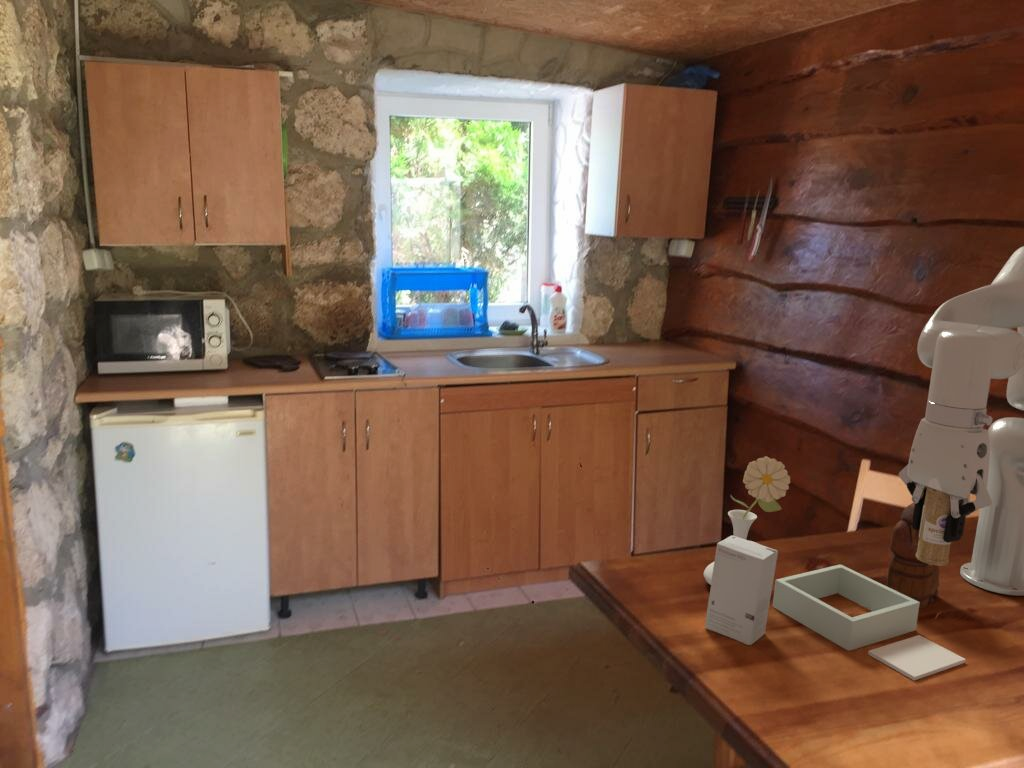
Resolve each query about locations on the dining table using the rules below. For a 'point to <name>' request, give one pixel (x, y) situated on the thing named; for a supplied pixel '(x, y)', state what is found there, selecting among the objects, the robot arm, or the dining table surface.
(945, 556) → the sprinkles bottle
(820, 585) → the open box
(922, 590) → the wooden figurine
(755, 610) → the skincare box
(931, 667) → the mat
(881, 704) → the dining table surface
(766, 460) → the flower in vase
